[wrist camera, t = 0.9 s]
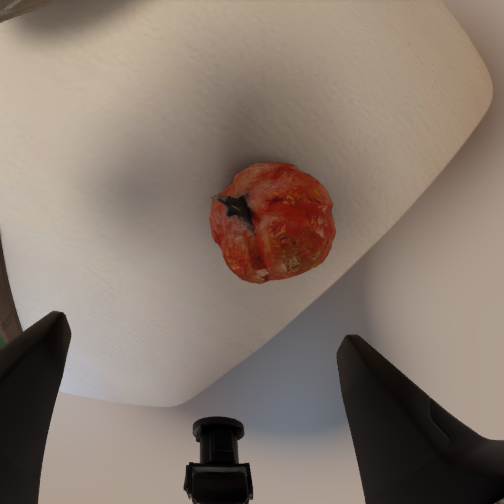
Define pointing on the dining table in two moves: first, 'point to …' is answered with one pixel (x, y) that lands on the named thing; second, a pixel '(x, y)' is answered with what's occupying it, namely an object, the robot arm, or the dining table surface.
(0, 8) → the bowl
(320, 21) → the dining table surface
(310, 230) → the red round fruit
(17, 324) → the four compartment tray
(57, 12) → the dining table surface
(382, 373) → the robot arm
